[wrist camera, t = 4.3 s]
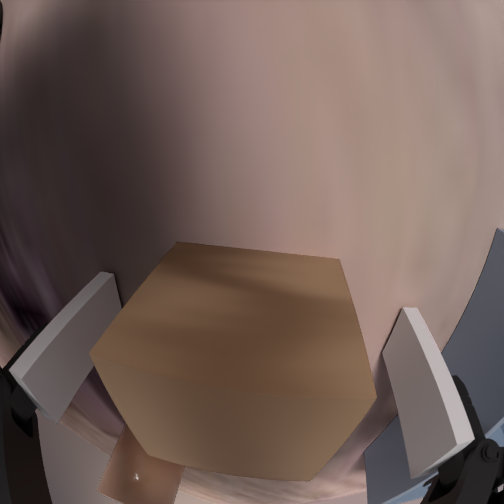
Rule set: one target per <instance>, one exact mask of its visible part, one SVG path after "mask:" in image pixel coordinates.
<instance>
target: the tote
mask: <svg viewBox="0 0 504 504" xmlns="http://www.w3.org/2000/svg"><path fill="white" fill-rule="evenodd" d="M441 355H442V357H443V359H444V361H445V363H446V366H447V368H448V370H449V372H450V375H451V376H453V375H457V376H458V377H459V378H460V379H461V381H462V382H463V383H464V384H465V386H466V389H467V391H468V393H469V397H470V398H471V401H472V406H474V408H475V411H476V413H477V416H478V419H479V421H480V424H481V427H482V430H483V433H484V435H485V437H486V439H487V438H489V439H493V440H494V441H496V442H497V444H498V445H499V447H504V230H502V229H499V228H497V231H496V234H495V237H494V240H493V243H492V246H491V249H490V252H489V255H488V258H487V261H486V263H485V266H484V269H483V271H482V274H481V276H480V279H479V281H478V283H477V286H476V288H475V290H474V293H473V295H472V297H471V299H470V301H469V304H468V306H467V308H466V310H465V312H464V314H463V316H462V318H461V320H460V322H459V323H458V325H457V327H456V329H455V331H454V333H453V335H452V336H451V338H450V340H449V342H448V343H447V345H446V347H445V348H444V350H443V352H442V353H441ZM364 458H365V469H366V483H367V499H368V504H400V503H404V502H408V501H412V500H415V499H419V498H422V497H424V496H425V494H426V493H427V491H428V489H427V488H428V487H429V486H430V485H431V483H430V484H429V485H427V486H425V487H423V484H424V483H425V482H426V481H428V480H429V479H431V478H432V477H434V476H435V475H437V474H438V469H436V470H434V471H433V472H431V473H430V474H428V475H425V476H421V477H417V478H413V479H411V477H410V470H409V464H408V458H407V452H406V447H405V442H404V437H403V432H402V427H401V423H400V418H399V414H398V415H397V416H396V417H395V418H394V420H393V421H392V422H391V423H390V424H389V425H388V427H387V428H386V429H385V430H384V431H383V432H382V433H381V434H380V435H379V436H378V438H377V439H376V440H375V441H374V442H373V443H372V444H371V445H370V446H369V447H368V448H367V449H366V450H365V451H364Z"/></svg>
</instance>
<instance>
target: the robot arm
mask: <svg viewBox="0 0 504 504" xmlns="http://www.w3.org/2000/svg"><path fill="white" fill-rule="evenodd" d="M0 22H1V3H0ZM121 310H122V307H121V303H120V299H119V295H118V291H117V286H116V282H115V277H114V274H112V273H107V272H100V273H99V274H98V275H97V276H96V277H94V278H93V279H92V280H91V281H90V282H89V283H88V284H87V285H86V286H85V287H84V288H83V289H82V290H81V291H80V292H79V293H78V294H77V295H76V296H75V297H74V298H73V299H72V300H71V301H70V302H69V303H68V304H67V305H66V306H65V307H64V308H63V309H62V310H61V311H60V312H59V313H58V314H57V316H56V317H55V318H54V319H53V320H52V321H51V322H50V323H46V324H44V325H43V326H41V327H40V328H38V329H37V330H36V331H35V332H34V333H33V334H32V335H31V337H30V339H28V340H27V341H26V342H25V345H23V346H22V347H21V348H20V349H19V350H18V351H17V353H16V354H15V355H14V356H13V357H12V358H11V360H10V361H9V362H8V363H7V365H6V366H5V367H4V368H3V369H2V368H1V366H0V504H52V501H51V497H50V493H49V489H48V485H47V480H46V476H45V471H44V466H43V461H42V454H41V447H40V440H39V430H38V419H37V415H36V413H35V410H36V408H38V410H39V411H40V412H41V413H42V414H43V415H44V416H45V417H47V418H48V419H50V420H52V421H53V422H55V423H56V424H58V422H59V420H60V419H61V417H62V415H63V414H64V412H65V410H66V409H67V407H68V405H69V404H70V402H71V401H72V399H73V397H74V396H75V394H76V393H77V391H78V389H79V388H80V386H81V385H82V383H83V382H84V380H85V379H86V377H87V375H88V374H89V372H90V371H91V369H92V368H93V366H94V364H93V361H92V359H91V357H90V355H89V352H90V351H91V350H92V348H93V347H94V345H95V344H96V343H97V341H98V340H99V339H100V337H101V336H102V335H103V333H104V332H105V331H106V329H107V328H108V327H109V325H110V324H111V323H112V321H113V320H114V319H115V317H116V316H117V315H118V313H119V312H120V311H121ZM382 354H383V358H384V361H385V364H386V368H387V371H388V375H389V378H390V382H391V386H392V390H393V394H394V397H395V401H396V406H397V410H398V414H399V418H400V423H401V427H402V432H403V437H404V442H405V447H406V452H407V458H408V464H409V470H410V477H411V479H413V478H417V477H421V476H425V475H428V474H430V473H431V472H433V471H434V470H436V469H438V474H437V475H435V476H434V477H432V478H431V479H429V480H428V481H426V482H425V483H424V484H423V487H425V486H427V485H429V484H430V483H431V485H430V486H429V487H428V488H427V489H428V491H427V493H426V494H425V496H424V498H423V500H422V502H421V503H420V504H504V488H503V490H502V491H500V492H499V493H498V487H499V486H500V485H502V484H504V447H499V445H498V444H497V442H496V441H494V440H493V439H489V438H487V439H486V437H485V435H484V433H483V430H482V427H481V424H480V421H479V419H478V416H477V413H476V411H475V408H474V406H472V401H471V398H470V397H469V393H468V391H467V389H466V386H465V384H464V383H463V382H462V381H461V379H460V378H459V377H458V376H457V375H453V376H451V375H450V372H449V370H448V368H447V366H446V363H445V361H444V359H443V357H442V355H441V353H440V351H439V349H438V347H437V345H436V343H435V341H434V339H433V337H432V335H431V333H430V331H429V329H428V327H427V325H426V323H425V321H424V319H423V318H422V316H421V314H420V312H419V310H418V308H409V307H403V308H402V310H401V313H400V315H399V318H398V320H397V322H396V324H395V327H394V329H393V331H392V333H391V336H390V338H389V340H388V342H387V344H386V346H385V348H384V350H383V352H382Z"/></svg>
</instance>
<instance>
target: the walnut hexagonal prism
mask: <svg viewBox="0 0 504 504" xmlns="http://www.w3.org/2000/svg"><path fill="white" fill-rule="evenodd" d="M89 355H90V357H91V359H92V361H93V364H94V366H95V368H96V370H97V372H98V374H99V376H100V378H101V380H102V382H103V384H104V386H105V387H106V389H107V391H108V393H109V395H110V397H111V398H112V400H113V402H114V404H115V405H116V407H117V409H118V410H119V412H120V414H121V415H122V417H123V419H124V420H125V422H126V424H127V425H128V427H129V428H130V430H131V431H132V433H133V434H134V436H135V437H136V439H137V440H138V442H139V443H140V445H141V446H142V447H143V449H144V450H145V452H146V453H147V454H148V455H150V456H153V457H156V458H159V459H162V460H166V461H169V462H173V463H177V464H180V465H184V466H188V467H193V468H197V469H201V470H206V471H211V472H217V473H222V474H228V475H235V476H242V477H250V478H259V479H271V480H289V481H310V480H311V479H312V478H313V477H314V476H315V475H316V474H317V473H318V472H319V471H320V470H321V469H322V468H323V467H324V465H325V464H326V463H327V462H328V461H329V460H330V459H331V458H332V456H333V455H334V454H335V453H336V452H337V451H338V449H339V448H340V447H341V446H342V445H343V443H344V442H345V441H346V440H347V438H348V437H349V436H350V435H351V433H352V432H353V431H354V430H355V428H356V427H357V426H358V424H359V423H360V422H361V420H362V419H363V417H364V416H365V415H366V413H367V412H368V410H369V409H370V408H371V406H372V405H373V403H374V402H375V400H376V399H377V395H376V390H375V385H374V381H373V377H372V372H371V368H370V364H369V360H368V356H367V352H366V348H365V344H364V340H363V336H362V332H361V329H360V325H359V322H358V318H357V315H356V311H355V308H354V304H353V301H352V298H351V294H350V291H349V288H348V285H347V282H346V278H345V275H344V272H343V269H342V266H341V263H340V260H339V259H334V258H325V257H315V256H306V255H297V254H287V253H278V252H269V251H259V250H250V249H241V248H231V247H222V246H212V245H203V244H193V243H184V242H177V243H176V244H175V245H174V246H173V247H172V249H171V250H170V251H169V252H168V253H167V254H166V256H165V257H164V258H163V259H162V260H161V261H160V263H159V264H158V265H157V266H156V267H155V269H154V270H153V271H152V272H151V273H150V275H149V276H148V277H147V278H146V280H145V281H144V282H143V283H142V284H141V286H140V287H139V288H138V289H137V291H136V292H135V293H134V294H133V296H132V297H131V298H130V299H129V301H128V302H127V303H126V304H125V306H124V307H123V308H122V310H121V311H120V312H119V313H118V315H117V316H116V317H115V319H114V320H113V321H112V323H111V324H110V325H109V327H108V328H107V329H106V331H105V332H104V333H103V335H102V336H101V337H100V339H99V340H98V341H97V343H96V344H95V345H94V347H93V348H92V350H91V351H90V352H89Z"/></svg>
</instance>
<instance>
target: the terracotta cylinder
mask: <svg viewBox="0 0 504 504" xmlns="http://www.w3.org/2000/svg"><path fill="white" fill-rule="evenodd" d="M184 467H185V466H184V465H180V464H177V463H173V462H169V461H166V460H162V459H159V458H156V457H153V456H150V455H148V454H147V453H146V452H145V450H144V449H143V447H142V446H141V445H140V443H139V442H138V440H137V439H136V437H135V436H134V434H133V433H132V431H131V430H130V428H129V427H128V425H127V424H125V426H124V428H123V430H122V433H121V435H120V437H119V439H118V441H117V444H116V446H115V448H114V450H113V453H112V455H111V457H110V459H109V462H108V464H107V466H106V468H105V471H104V473H103V475H102V478H101V480H100V482H99V485H98V487H97V490H96V491H97V492H98V493H100V494H101V495H103V496H105V497H107V498H109V499H111V500H113V501H115V502H118V503H120V504H174V501H175V497H176V494H177V491H178V488H179V484H180V481H181V477H182V474H183V471H184Z"/></svg>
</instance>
